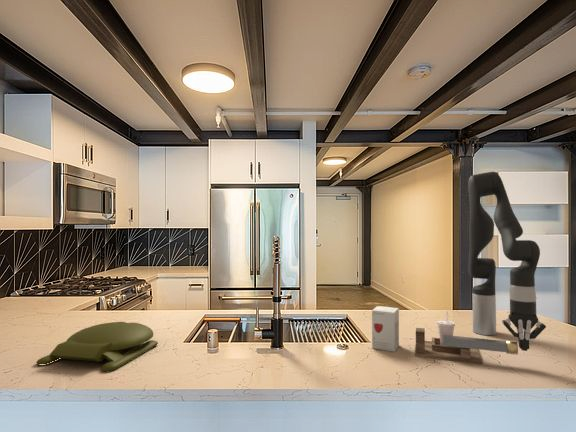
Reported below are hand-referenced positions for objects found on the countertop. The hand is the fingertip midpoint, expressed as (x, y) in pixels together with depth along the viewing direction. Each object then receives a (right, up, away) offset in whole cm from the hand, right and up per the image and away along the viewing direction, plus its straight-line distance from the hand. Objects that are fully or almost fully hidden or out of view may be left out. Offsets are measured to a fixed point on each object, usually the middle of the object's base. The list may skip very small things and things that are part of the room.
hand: (523, 350), depth 121 cm
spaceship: (-149, -7, +15) cm, 150 cm away
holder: (-20, -6, +14) cm, 25 cm away
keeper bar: (-13, -2, +5) cm, 14 cm away
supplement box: (-42, -7, +20) cm, 46 cm away
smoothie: (-20, -5, +16) cm, 26 cm away
